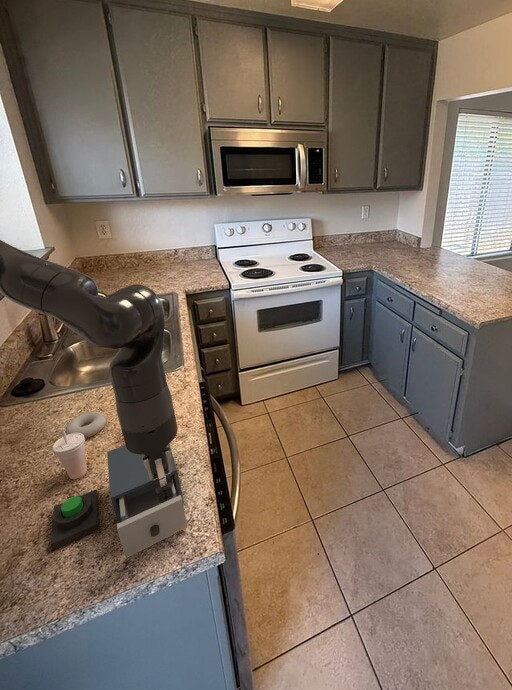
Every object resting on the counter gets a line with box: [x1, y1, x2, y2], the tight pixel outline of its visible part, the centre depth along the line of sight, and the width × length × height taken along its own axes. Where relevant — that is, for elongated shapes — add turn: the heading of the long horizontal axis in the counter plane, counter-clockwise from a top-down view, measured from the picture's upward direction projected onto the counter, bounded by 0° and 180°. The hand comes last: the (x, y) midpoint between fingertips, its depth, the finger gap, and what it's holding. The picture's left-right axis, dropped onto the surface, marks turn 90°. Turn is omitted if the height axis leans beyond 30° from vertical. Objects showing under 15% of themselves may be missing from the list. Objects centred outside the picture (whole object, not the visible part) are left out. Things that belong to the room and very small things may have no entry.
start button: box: [61, 495, 83, 517], centre depth 75 cm, size 4×4×2 cm
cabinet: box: [106, 443, 184, 524], centre depth 81 cm, size 15×13×10 cm
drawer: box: [116, 480, 188, 559], centre depth 74 cm, size 15×11×8 cm
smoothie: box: [51, 427, 88, 480], centre depth 86 cm, size 6×6×14 cm
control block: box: [49, 489, 100, 551], centre depth 76 cm, size 10×8×4 cm
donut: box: [65, 411, 107, 439], centre depth 103 cm, size 10×4×10 cm
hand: (166, 497), depth 61 cm, fingers closed
